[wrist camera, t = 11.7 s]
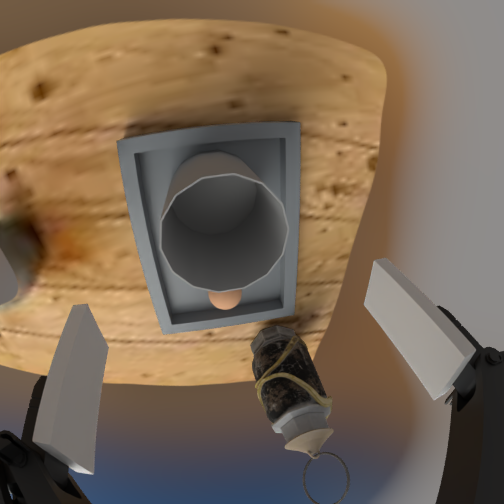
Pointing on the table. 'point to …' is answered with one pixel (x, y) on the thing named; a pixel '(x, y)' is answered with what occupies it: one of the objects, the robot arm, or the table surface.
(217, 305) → the ball
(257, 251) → the cup
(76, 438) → the robot arm
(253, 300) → the tray
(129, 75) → the table surface
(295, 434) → the lantern
